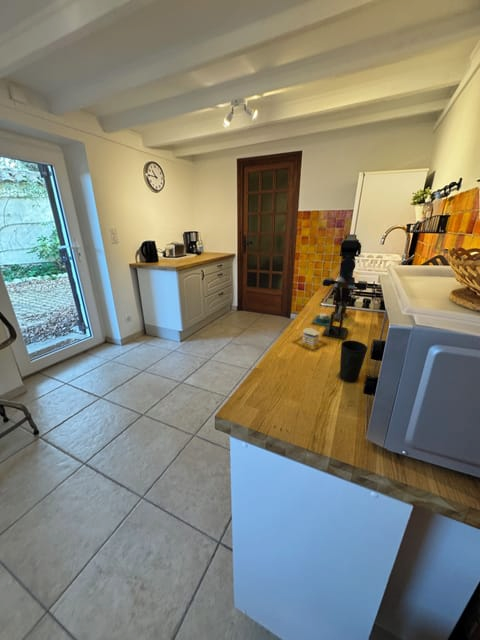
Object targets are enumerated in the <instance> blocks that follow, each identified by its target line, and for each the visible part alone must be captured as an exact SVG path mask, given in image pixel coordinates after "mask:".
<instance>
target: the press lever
mask: <svg viewBox="0 0 480 640" xmlns="http://www.w3.org/2000/svg"><path fill="white" fill-rule="evenodd" d="M338 306H339V310H338V313H337V314H335V317H334V322H338V323H340V318H341V314H340V313H341V310H342V308H343V307H345V302H343V301H340V302H339V303H338Z"/></svg>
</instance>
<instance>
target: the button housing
mask: <svg viewBox="0 0 480 640" xmlns="http://www.w3.org/2000/svg"><path fill="white" fill-rule="evenodd" d="M319 317H320V314H318V315H317V316H316V317H315V318H314V320H313V321H312V325H318V326H322V327H327V326H328V325H330V321H331V318H330V315H329V316H328V315H327V318H326V319H322V318H319Z"/></svg>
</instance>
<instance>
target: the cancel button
mask: <svg viewBox="0 0 480 640" xmlns="http://www.w3.org/2000/svg"><path fill="white" fill-rule="evenodd" d="M319 315H320V317H319V318H322V319H326V318H327V316H328V314H327V313H319Z"/></svg>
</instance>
